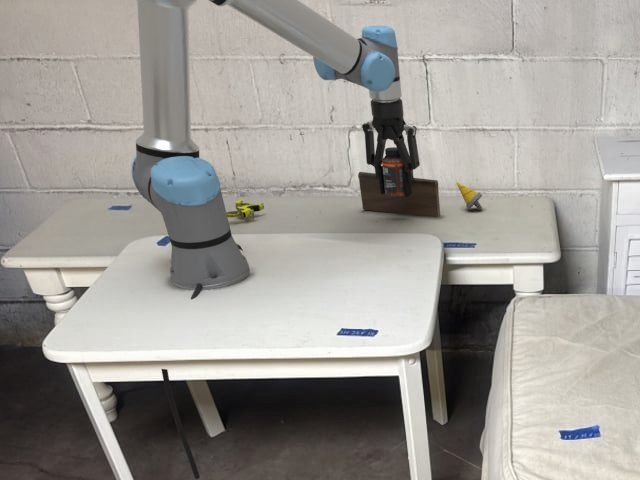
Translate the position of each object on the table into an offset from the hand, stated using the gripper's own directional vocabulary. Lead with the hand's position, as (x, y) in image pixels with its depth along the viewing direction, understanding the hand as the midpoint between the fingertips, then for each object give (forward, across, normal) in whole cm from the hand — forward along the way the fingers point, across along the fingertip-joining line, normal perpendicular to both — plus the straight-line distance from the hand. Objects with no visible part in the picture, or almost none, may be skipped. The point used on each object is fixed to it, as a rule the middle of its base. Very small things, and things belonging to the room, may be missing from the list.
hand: (396, 193), depth 187 cm
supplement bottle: (0, 0, 0) cm, 0 cm away
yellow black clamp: (+7, +39, +11) cm, 41 cm away
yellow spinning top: (+7, -15, -13) cm, 21 cm away
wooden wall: (+7, +2, -6) cm, 10 cm away
